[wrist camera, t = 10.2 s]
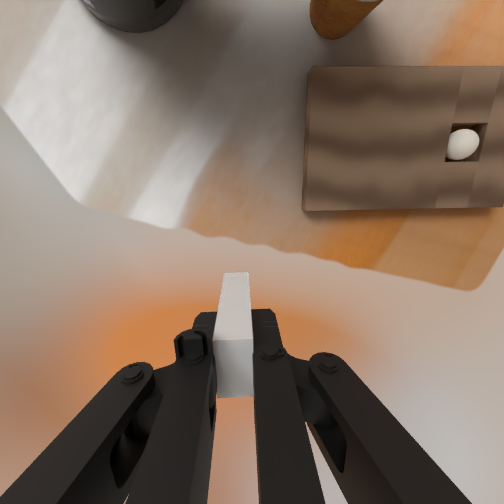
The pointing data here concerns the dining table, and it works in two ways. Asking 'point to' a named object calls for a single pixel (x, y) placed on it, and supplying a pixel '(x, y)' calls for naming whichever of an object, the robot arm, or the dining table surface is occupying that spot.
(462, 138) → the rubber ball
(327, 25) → the disposable coffee cup
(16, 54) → the dining table surface
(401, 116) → the hole board
